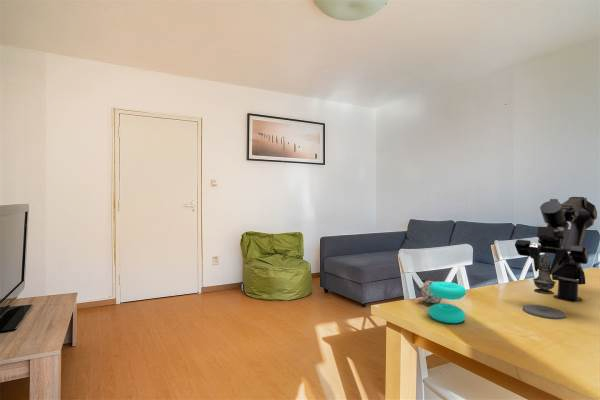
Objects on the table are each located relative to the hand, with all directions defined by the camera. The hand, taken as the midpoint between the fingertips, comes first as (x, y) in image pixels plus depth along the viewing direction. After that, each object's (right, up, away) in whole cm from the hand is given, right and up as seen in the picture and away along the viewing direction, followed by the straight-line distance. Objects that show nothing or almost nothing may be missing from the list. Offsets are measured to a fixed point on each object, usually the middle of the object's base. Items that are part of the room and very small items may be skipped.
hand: (543, 271), depth 107 cm
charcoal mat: (+1, -13, +1) cm, 13 cm away
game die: (-32, -13, +8) cm, 35 cm away
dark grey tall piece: (+1, -7, +1) cm, 7 cm away
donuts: (-33, -13, -6) cm, 36 cm away
